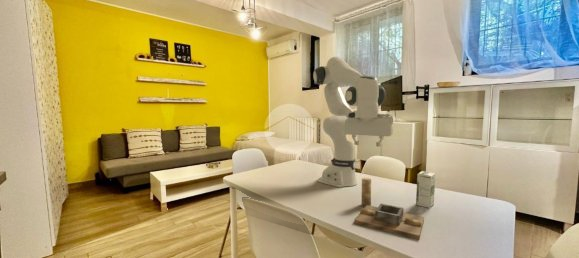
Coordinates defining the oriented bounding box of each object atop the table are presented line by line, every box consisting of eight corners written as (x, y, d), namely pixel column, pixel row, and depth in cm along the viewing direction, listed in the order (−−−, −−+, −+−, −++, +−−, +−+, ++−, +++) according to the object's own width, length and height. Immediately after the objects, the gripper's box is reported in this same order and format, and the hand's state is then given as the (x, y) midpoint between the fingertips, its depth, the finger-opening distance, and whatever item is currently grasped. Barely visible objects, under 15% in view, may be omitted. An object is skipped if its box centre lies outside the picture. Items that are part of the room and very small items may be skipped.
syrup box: (420, 201, 113) (421, 170, 112) (434, 204, 109) (435, 172, 108) (415, 205, 109) (416, 173, 108) (430, 208, 105) (431, 175, 104)
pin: (360, 206, 109) (360, 179, 108) (363, 203, 112) (363, 177, 111) (369, 208, 107) (369, 181, 106) (371, 204, 110) (372, 178, 109)
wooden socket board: (354, 223, 93) (354, 210, 93) (366, 208, 107) (366, 197, 106) (419, 239, 81) (419, 225, 81) (423, 220, 95) (424, 208, 94)
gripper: (394, 113, 103) (394, 146, 104) (347, 113, 114) (347, 143, 115) (391, 114, 98) (391, 148, 99) (342, 114, 109) (342, 145, 110)
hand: (367, 145), depth 107 cm, fingers open, 8 cm apart
